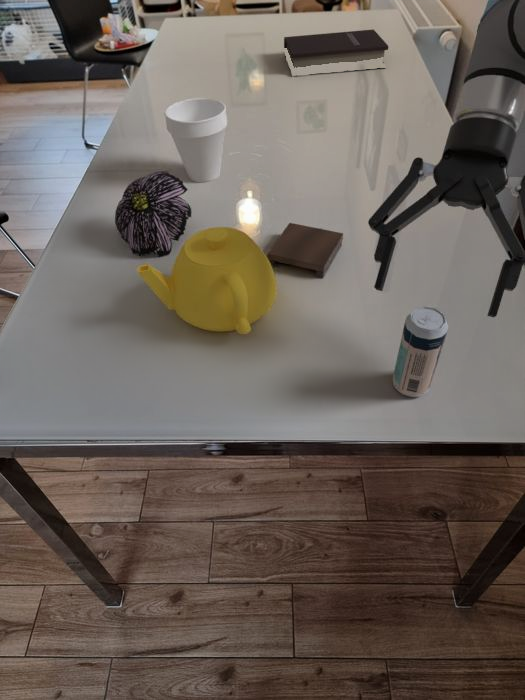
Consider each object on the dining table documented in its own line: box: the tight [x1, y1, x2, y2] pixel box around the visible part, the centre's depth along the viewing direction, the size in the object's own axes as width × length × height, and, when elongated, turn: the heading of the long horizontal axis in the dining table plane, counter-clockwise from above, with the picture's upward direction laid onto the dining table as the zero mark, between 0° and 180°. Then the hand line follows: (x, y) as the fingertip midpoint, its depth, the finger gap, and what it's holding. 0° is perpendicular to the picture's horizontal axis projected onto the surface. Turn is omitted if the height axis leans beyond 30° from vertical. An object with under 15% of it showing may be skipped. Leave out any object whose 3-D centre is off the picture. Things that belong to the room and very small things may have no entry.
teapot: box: [136, 226, 278, 335], centre depth 73 cm, size 20×19×13 cm
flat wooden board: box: [266, 222, 344, 279], centre depth 85 cm, size 10×10×2 cm
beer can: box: [392, 305, 449, 398], centre depth 61 cm, size 5×5×12 cm
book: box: [283, 29, 389, 68], centre depth 152 cm, size 28×20×6 cm
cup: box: [164, 97, 228, 183], centre depth 103 cm, size 12×12×14 cm
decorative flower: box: [114, 170, 192, 258], centre depth 89 cm, size 15×12×15 cm
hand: (432, 302), depth 61 cm, fingers open, 13 cm apart
